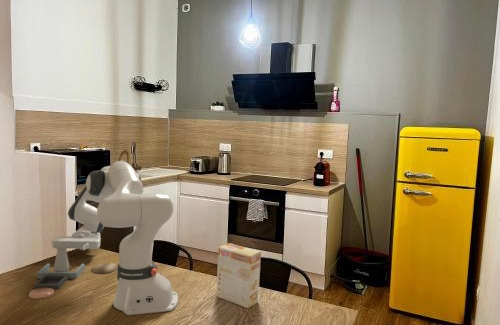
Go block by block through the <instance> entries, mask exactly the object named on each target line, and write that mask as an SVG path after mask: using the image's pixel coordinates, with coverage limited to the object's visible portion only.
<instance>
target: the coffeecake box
mask: <svg viewBox="0 0 500 325" xmlns="http://www.w3.org/2000/svg"><path fill="white" fill-rule="evenodd" d="M217 252H218V253H217V256H218V257H217V274H216V292H215V294H216V295H215V296H216V297H217V298H220V299H223V300H225V301H227V302H231V303H233V304H236V305H238V306H240V307H242V308H243V307H244V308H246V309H249V308H251V307H252V306H255V305H257V303H259V294H260V293H259V292H260V291H259V290H260V278H261V277H260V276H261V275H260V273H261V257H262V252H261V251H260V250H256V249H252V248H249V247H245V246H241V245H237V244H234V243H231V242H229V243H225V244H223V245H221V246H218V251H217Z"/></svg>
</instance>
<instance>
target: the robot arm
mask: <svg viewBox="0 0 500 325" xmlns="http://www.w3.org/2000/svg"><path fill="white" fill-rule="evenodd" d="M86 201H91V202H94V203H95V202H96V203H99V204H98V205H97V207H95V206H93V205H91V204H89V203H87V202H86ZM173 214H174V203H173V201H172V199H171V198H170V196H169V195H166V194H160V193H144V185H143V183H142V177H141V176H140V174H138V173H137V171H136V170H135V169H134V167H133V166H132V165H131V164H130V163H128V162H126V161H123V160H119V161H118V160H117V161H115V162H113V163H112V164H111V165H107V166H104V167H102V168H101V169H100V170H99V169H98V170H93V171H91V172H90V173H88V176H87V178H86V181H85V186H84V187H83V188H82V190H81V191H80V193H79V194H78V196H77V197H76V199H75V201H74V202H73V203H72V204H71V205H70V207H69V209H68V211H67V216H68V218H69V219H70V220H72V221H74V222H77V223H80V224H82V226H81V227H80V228H79V229H77V230H76V231H75V232H74V233H72V234H71V236H65V235H64V236H63V235H62V236H58V237H55V238H54V239H53V240H52V242H51V247H52V248H53V249H56V244H57V243H59V242H66V243H67V244H68V247H67V248H66V249H77V250H78V249H79V250H80V251H85V250H92V249H93V250H96V249H99V248H100V247H101V241H102V240H101V239H102V238H101V233H102V231H103V230H104V229H105V228H117V229H118V228H119V229H120V228H122V229H123V228H131V227H136V228H134V230H133V231H132V233H130V234H127V236H125V237H124V238H122V240H121V241H120V244H119V249H118V250H119V251H118V252H119V254H118V259H119V260H118V264H117V270H116V278H117V285H116V291H115V292H116V293H115V296H114V300H113V303H112V304H113V306H114V308H116V309H117V310H119V311H122V312H123V314H125V315H127V316H133V315H135V316H136V315H144V314H152V313H153V314H154V313H162V312H163V313H164V312H171V311H173V310H174V309H176V307H177V306H178V304H179V295H178V293H177V292H176V291H175V290H173V287H172V283H171V281H170V280H169V279H168V278H166V277H165V276H163V275H162V274H160V273H159V272H158V263H157V262H155V263H154V262H153V259H152V258H153V249H154V248H153V247H154V242H155V238H156V236H157V234H158V232H159V231H160V229H161V228H162V227H163V226H164V225H165V224H166V223H168V221H169V220H171V218H172V216H173Z"/></svg>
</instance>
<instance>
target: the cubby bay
mask: <svg viewBox="0 0 500 325" xmlns="http://www.w3.org/2000/svg"><path fill="white" fill-rule="evenodd" d="M50 269H51V263H46V264H45V265H44V266H43V267H42V268H41V269H39V270H38V271H37V272H36V279H41V278H42V277H43V276H44V275H68V279H77V278H78V277H79V276H80V275H81V274H82V273H83V271H84V270H85V263H81V264H80V266H78V268H77V269H76V270H75V271H67V272H55V271H49V270H50Z"/></svg>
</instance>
